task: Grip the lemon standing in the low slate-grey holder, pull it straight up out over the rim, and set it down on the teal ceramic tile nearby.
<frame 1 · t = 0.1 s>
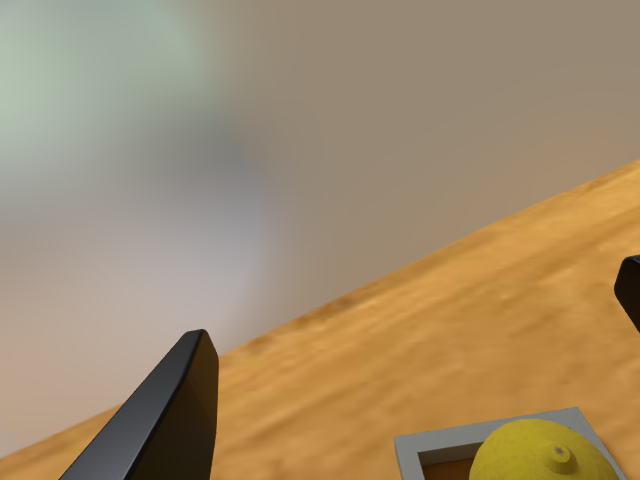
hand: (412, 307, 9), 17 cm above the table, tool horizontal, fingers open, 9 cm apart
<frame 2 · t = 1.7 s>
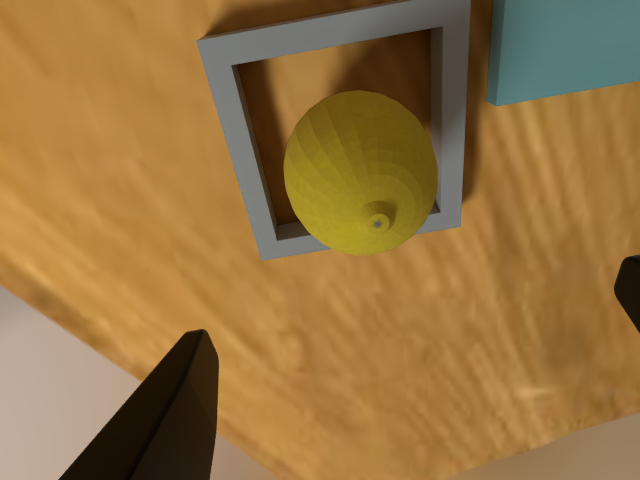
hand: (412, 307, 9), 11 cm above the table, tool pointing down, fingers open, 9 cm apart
lemon: (343, 135, 18), resting in holder
holder: (344, 136, 18), on the table
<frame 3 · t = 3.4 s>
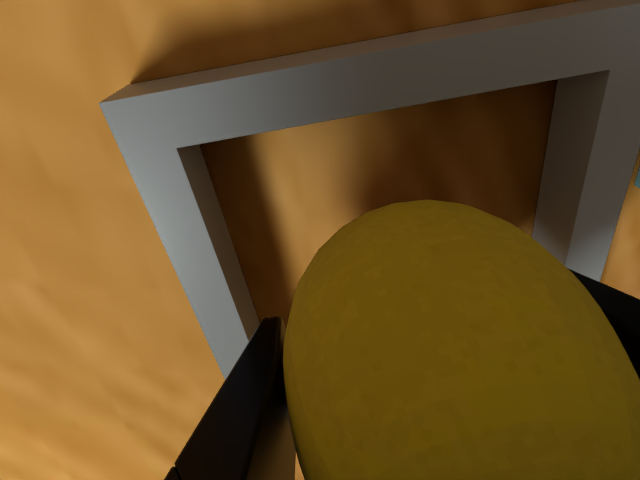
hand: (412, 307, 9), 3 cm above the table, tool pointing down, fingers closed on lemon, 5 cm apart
lemon: (385, 239, 11), resting in holder, touching gripper
holder: (386, 243, 11), on the table
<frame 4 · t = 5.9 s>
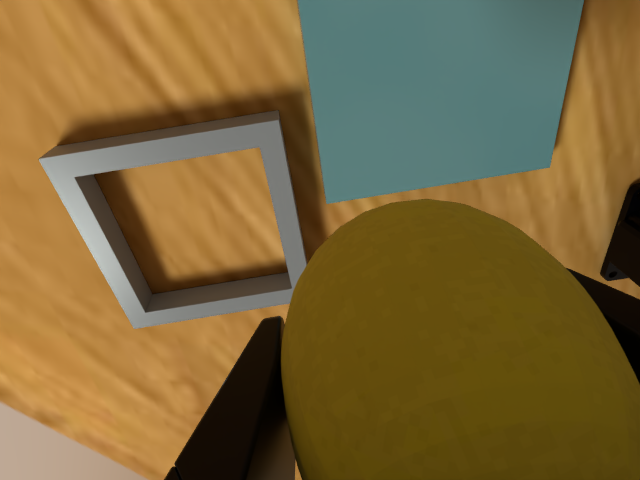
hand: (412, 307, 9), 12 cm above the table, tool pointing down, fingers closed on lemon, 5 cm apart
lemon: (383, 239, 11), point 9 cm above the table, touching gripper
tile: (434, 60, 17), on the table
holder: (200, 223, 20), on the table
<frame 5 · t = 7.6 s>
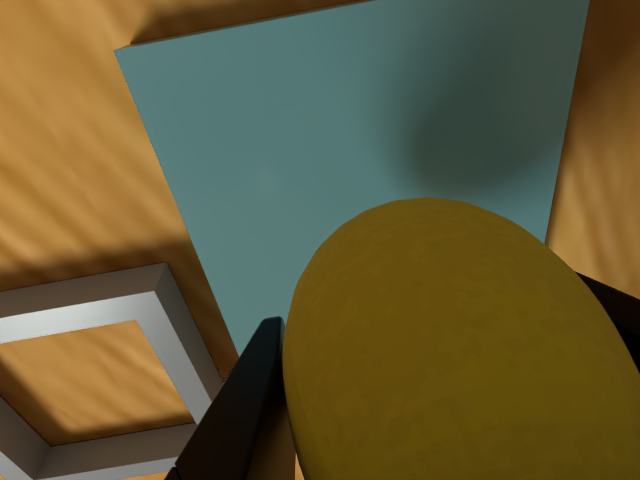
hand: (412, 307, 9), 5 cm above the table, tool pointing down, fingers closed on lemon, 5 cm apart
lemon: (384, 237, 11), point 2 cm above the table, touching gripper
tile: (367, 200, 13), on the table
holder: (93, 379, 16), on the table
when the fingers open (5 cm above the table, at t = 8.4 s): lemon drops 1 cm, resting on tile.
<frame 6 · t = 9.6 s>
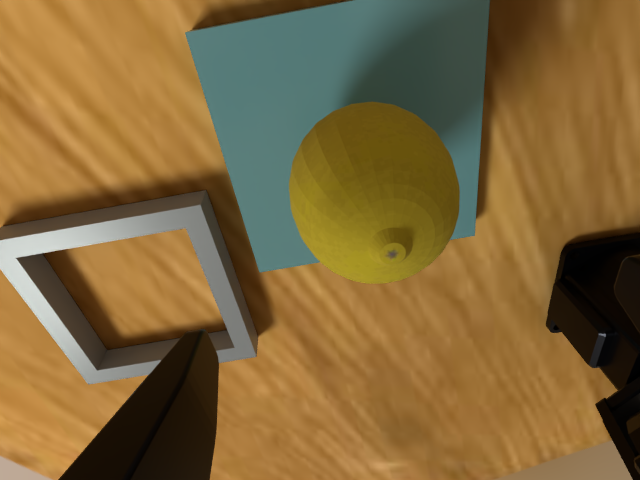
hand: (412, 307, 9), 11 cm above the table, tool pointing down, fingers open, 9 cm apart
lemon: (355, 148, 17), point 1 cm above the table, touching tile
tile: (350, 143, 18), on the table
holder: (145, 288, 21), on the table
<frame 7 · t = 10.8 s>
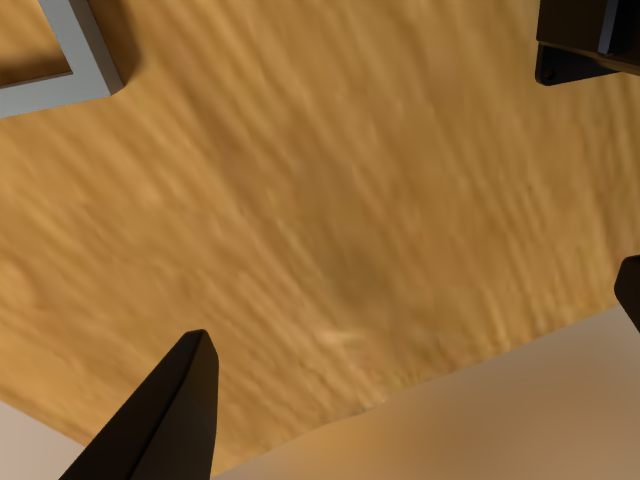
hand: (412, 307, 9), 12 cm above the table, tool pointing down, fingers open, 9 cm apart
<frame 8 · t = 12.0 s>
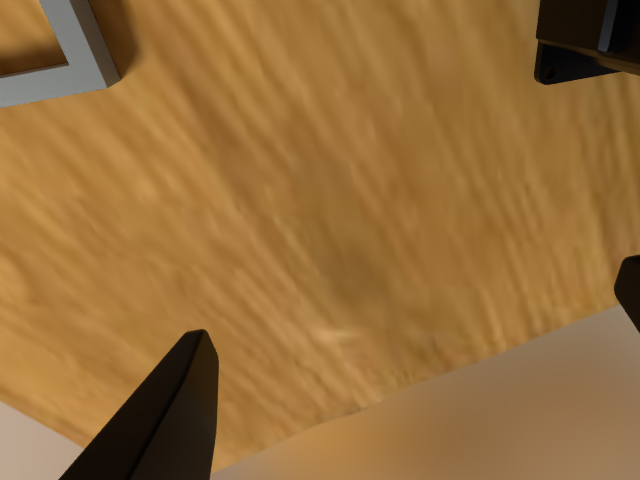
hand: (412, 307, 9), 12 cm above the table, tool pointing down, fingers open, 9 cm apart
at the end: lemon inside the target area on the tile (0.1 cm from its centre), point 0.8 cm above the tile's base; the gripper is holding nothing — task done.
